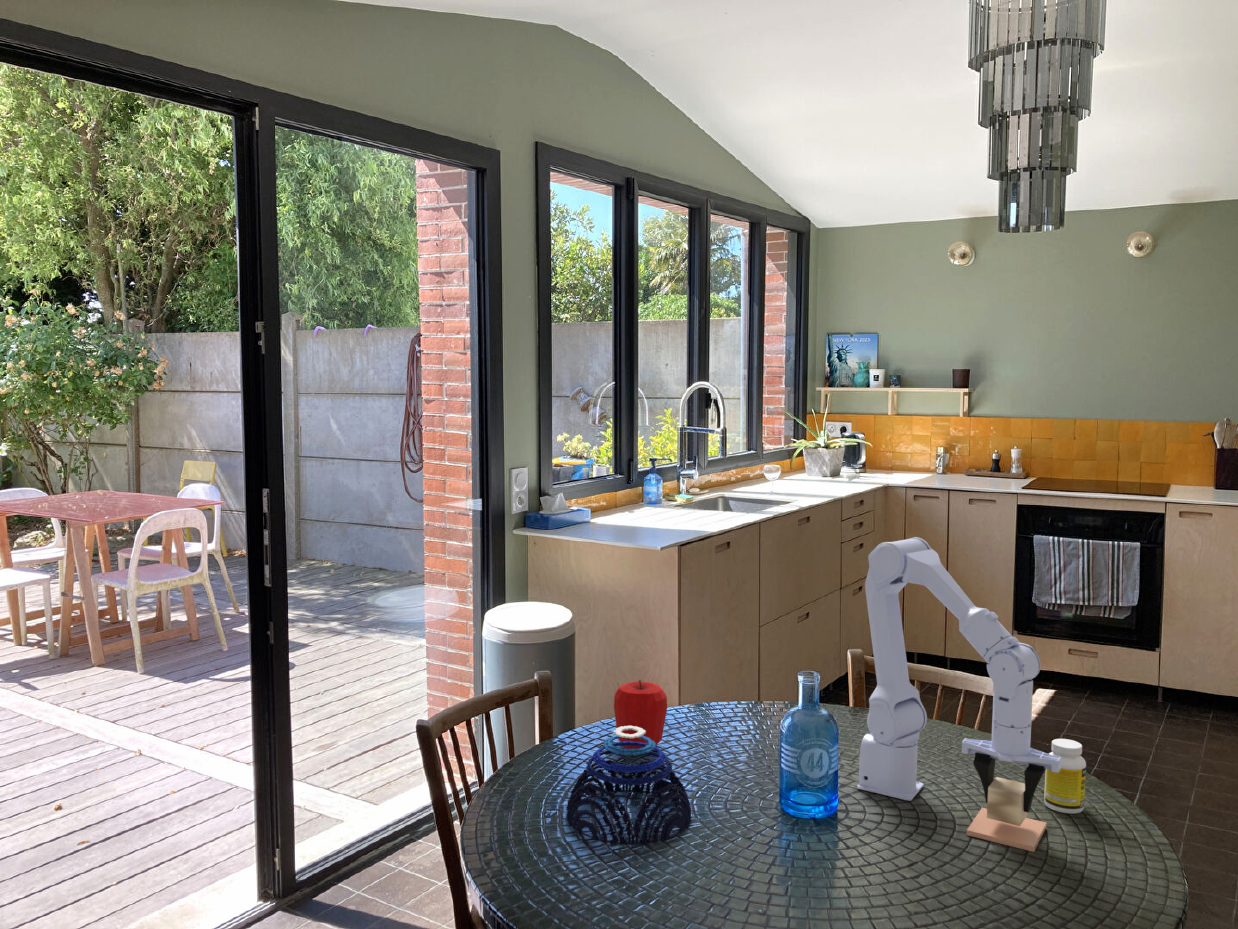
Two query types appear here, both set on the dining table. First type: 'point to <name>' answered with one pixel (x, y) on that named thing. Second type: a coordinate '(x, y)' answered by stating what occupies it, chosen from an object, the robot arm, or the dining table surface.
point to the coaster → (1007, 831)
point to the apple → (641, 710)
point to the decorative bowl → (641, 770)
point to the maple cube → (1006, 801)
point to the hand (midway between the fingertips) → (1008, 805)
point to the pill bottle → (1066, 778)
